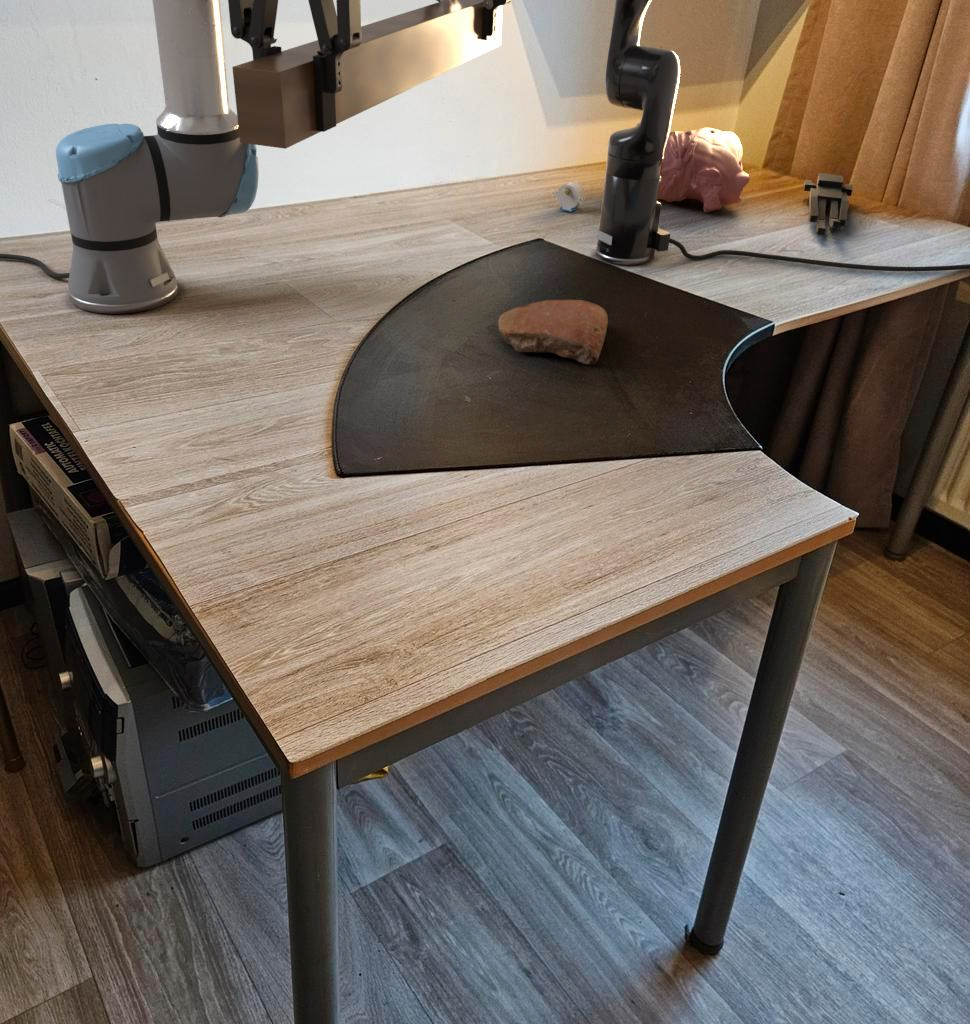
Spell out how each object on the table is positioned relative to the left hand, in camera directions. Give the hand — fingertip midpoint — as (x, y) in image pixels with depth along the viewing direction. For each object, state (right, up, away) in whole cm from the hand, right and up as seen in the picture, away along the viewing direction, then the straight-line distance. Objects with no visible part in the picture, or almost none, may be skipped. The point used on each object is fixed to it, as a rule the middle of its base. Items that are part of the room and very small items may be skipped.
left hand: (301, 124), depth 93 cm
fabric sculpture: (+61, +31, +111) cm, 130 cm away
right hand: (+16, +27, +37) cm, 48 cm away
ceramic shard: (+27, -13, +44) cm, 53 cm away
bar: (+8, +13, +19) cm, 24 cm away
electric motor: (+34, +21, +95) cm, 103 cm away
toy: (+86, +21, +99) cm, 132 cm away
